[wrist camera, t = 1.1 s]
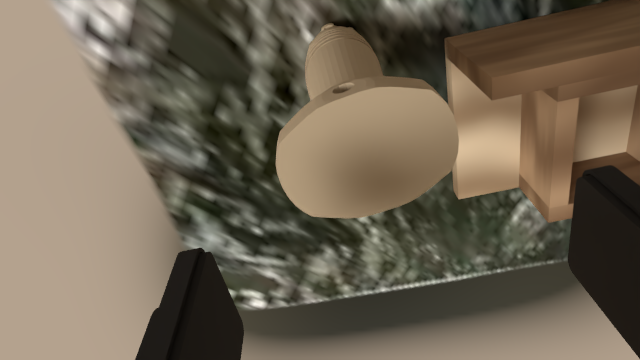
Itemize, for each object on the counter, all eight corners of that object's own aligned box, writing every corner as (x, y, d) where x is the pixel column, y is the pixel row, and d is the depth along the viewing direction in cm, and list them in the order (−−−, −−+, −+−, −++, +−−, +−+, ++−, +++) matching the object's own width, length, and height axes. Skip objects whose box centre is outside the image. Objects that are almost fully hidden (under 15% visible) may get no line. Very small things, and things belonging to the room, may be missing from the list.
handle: (392, 64, 29) (469, 183, 16) (301, 97, 30) (306, 235, 17) (371, -10, 26) (442, 61, 14) (273, 29, 27) (254, 130, 15)
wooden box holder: (444, 38, 28) (491, 77, 21) (735, -28, 27) (885, -8, 20) (453, 190, 34) (493, 259, 28) (691, 142, 33) (793, 202, 26)
